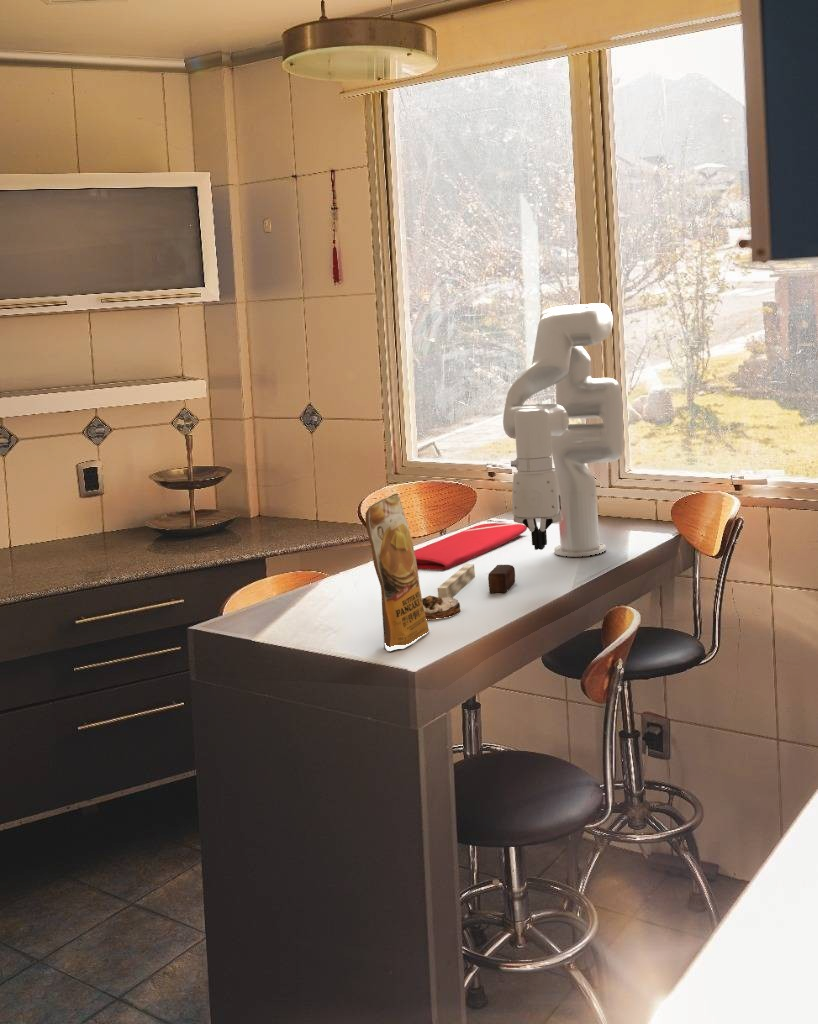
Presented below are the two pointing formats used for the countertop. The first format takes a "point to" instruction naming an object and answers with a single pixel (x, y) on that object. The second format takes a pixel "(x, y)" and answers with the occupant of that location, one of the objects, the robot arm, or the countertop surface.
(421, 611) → the pancake mix bag
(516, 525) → the dish drying mat
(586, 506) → the robot arm
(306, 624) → the countertop surface
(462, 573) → the beige long bar
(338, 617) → the countertop surface
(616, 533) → the countertop surface
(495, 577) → the brick
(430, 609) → the cream topped tart
